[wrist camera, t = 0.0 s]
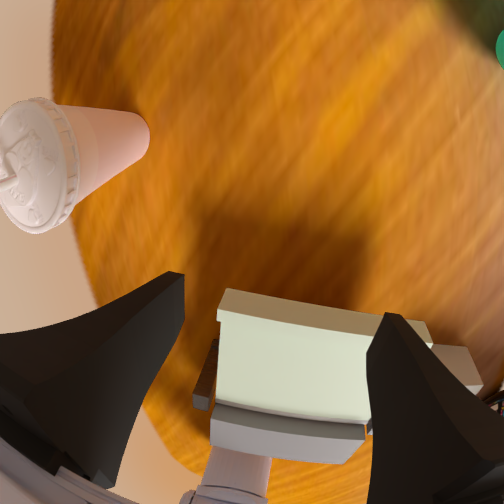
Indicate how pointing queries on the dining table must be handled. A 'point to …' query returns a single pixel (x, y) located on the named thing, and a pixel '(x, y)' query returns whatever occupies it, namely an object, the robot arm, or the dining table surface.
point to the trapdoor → (293, 378)
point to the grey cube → (459, 365)
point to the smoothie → (61, 157)
